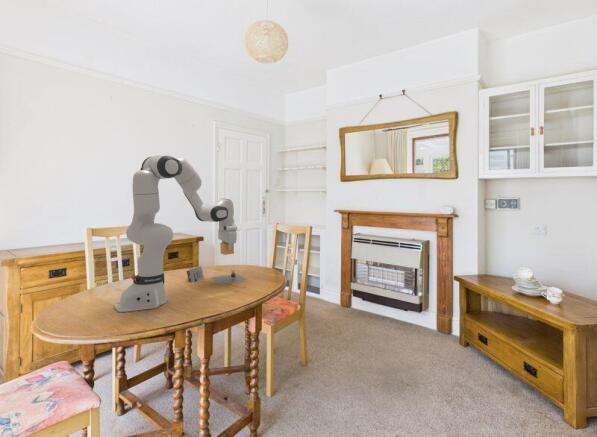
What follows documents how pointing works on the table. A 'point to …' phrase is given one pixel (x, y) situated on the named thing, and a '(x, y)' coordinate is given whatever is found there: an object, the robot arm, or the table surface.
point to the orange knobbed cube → (226, 248)
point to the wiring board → (229, 278)
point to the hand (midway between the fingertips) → (227, 249)
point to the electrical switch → (195, 274)
